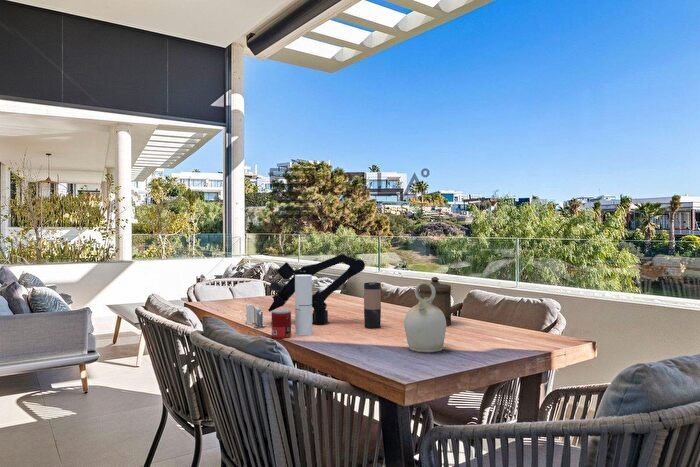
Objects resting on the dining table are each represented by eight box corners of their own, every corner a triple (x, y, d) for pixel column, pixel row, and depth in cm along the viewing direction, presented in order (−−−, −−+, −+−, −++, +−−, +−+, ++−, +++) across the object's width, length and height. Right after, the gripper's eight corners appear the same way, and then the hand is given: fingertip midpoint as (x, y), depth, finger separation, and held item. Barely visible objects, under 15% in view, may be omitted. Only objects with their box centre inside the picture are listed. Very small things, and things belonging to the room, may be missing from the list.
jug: (418, 342, 199) (417, 278, 199) (454, 348, 189) (453, 280, 189) (396, 349, 187) (395, 281, 187) (433, 356, 177) (432, 284, 177)
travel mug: (381, 325, 234) (381, 282, 234) (380, 329, 226) (380, 284, 226) (364, 325, 235) (364, 282, 234) (363, 328, 227) (363, 284, 227)
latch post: (253, 323, 241) (253, 304, 241) (247, 324, 240) (247, 305, 240) (249, 321, 247) (249, 303, 247) (244, 322, 246) (244, 303, 246)
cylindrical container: (309, 336, 212) (309, 276, 212) (293, 335, 213) (292, 276, 213) (314, 332, 219) (313, 274, 219) (298, 332, 220) (297, 274, 220)
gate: (260, 325, 234) (260, 309, 233) (257, 325, 233) (257, 309, 233) (256, 320, 244) (256, 305, 244) (253, 321, 244) (253, 306, 244)
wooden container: (457, 324, 238) (457, 276, 238) (438, 328, 227) (438, 279, 227) (431, 320, 248) (431, 275, 248) (412, 324, 238) (412, 277, 238)
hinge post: (266, 327, 232) (266, 311, 232) (260, 328, 229) (260, 313, 229) (259, 326, 234) (259, 311, 234) (253, 328, 231) (253, 312, 231)
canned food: (289, 339, 207) (289, 312, 207) (270, 339, 207) (270, 312, 207) (292, 335, 214) (292, 309, 214) (273, 335, 215) (273, 309, 215)
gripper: (281, 273, 250) (259, 296, 250) (276, 276, 231) (252, 301, 231) (298, 289, 250) (276, 312, 250) (294, 293, 231) (270, 318, 231)
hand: (268, 310), depth 241 cm, fingers closed
